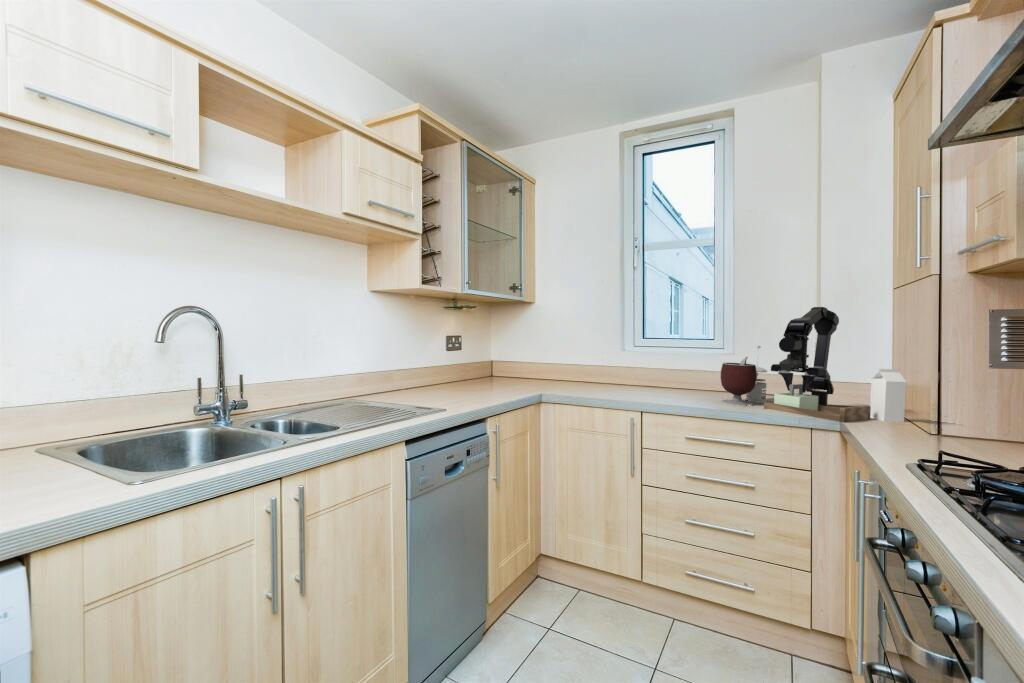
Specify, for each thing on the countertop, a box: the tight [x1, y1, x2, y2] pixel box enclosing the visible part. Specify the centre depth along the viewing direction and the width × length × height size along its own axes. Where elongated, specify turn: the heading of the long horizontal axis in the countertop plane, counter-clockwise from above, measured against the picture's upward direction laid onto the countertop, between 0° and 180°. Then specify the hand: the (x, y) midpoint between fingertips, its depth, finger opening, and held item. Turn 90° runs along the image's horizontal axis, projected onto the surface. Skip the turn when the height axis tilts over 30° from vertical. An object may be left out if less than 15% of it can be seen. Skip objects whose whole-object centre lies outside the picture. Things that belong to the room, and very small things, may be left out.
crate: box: [773, 383, 818, 411], centre depth 186 cm, size 12×10×10 cm
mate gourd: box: [720, 356, 758, 406], centre depth 204 cm, size 16×14×20 cm
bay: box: [763, 401, 871, 423], centre depth 180 cm, size 17×30×6 cm, turn 28°
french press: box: [743, 344, 768, 403], centre depth 214 cm, size 10×12×25 cm
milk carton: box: [869, 368, 907, 423], centre depth 171 cm, size 7×7×19 cm
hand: (796, 391), depth 186 cm, fingers open, 5 cm apart
